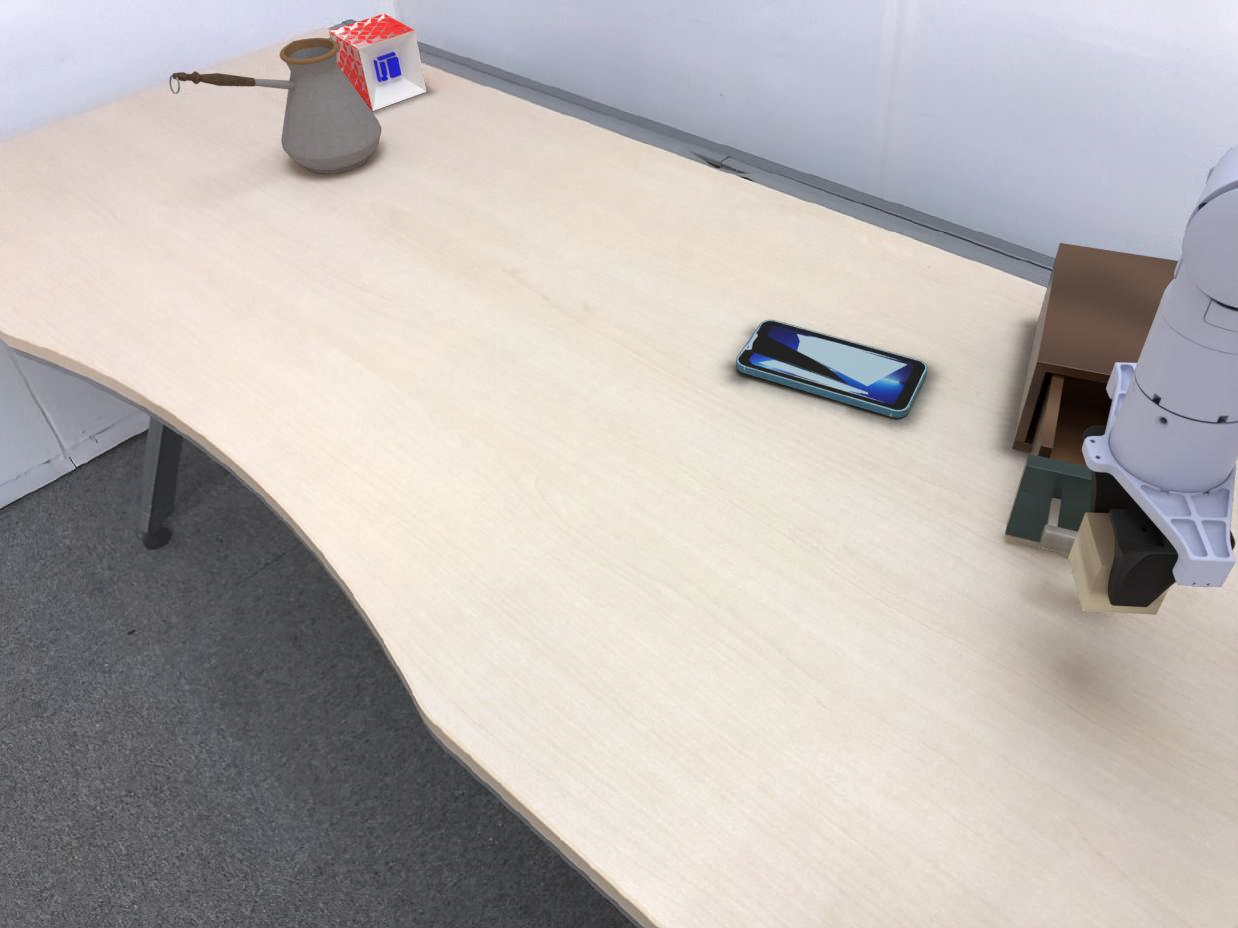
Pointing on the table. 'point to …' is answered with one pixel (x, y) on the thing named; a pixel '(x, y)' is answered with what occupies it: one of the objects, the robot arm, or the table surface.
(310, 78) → the coffee pot
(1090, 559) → the block
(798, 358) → the smartphone
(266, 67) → the table surface
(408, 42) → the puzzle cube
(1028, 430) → the cabinet
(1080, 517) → the drawer
